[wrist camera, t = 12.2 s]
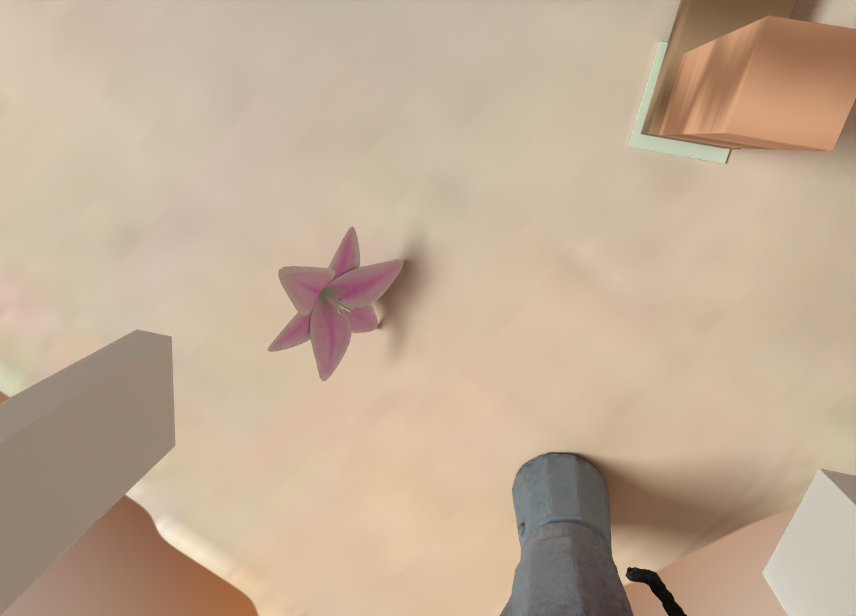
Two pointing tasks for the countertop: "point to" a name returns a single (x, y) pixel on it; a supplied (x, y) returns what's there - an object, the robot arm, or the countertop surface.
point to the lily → (333, 303)
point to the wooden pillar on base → (753, 78)
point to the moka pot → (569, 545)
